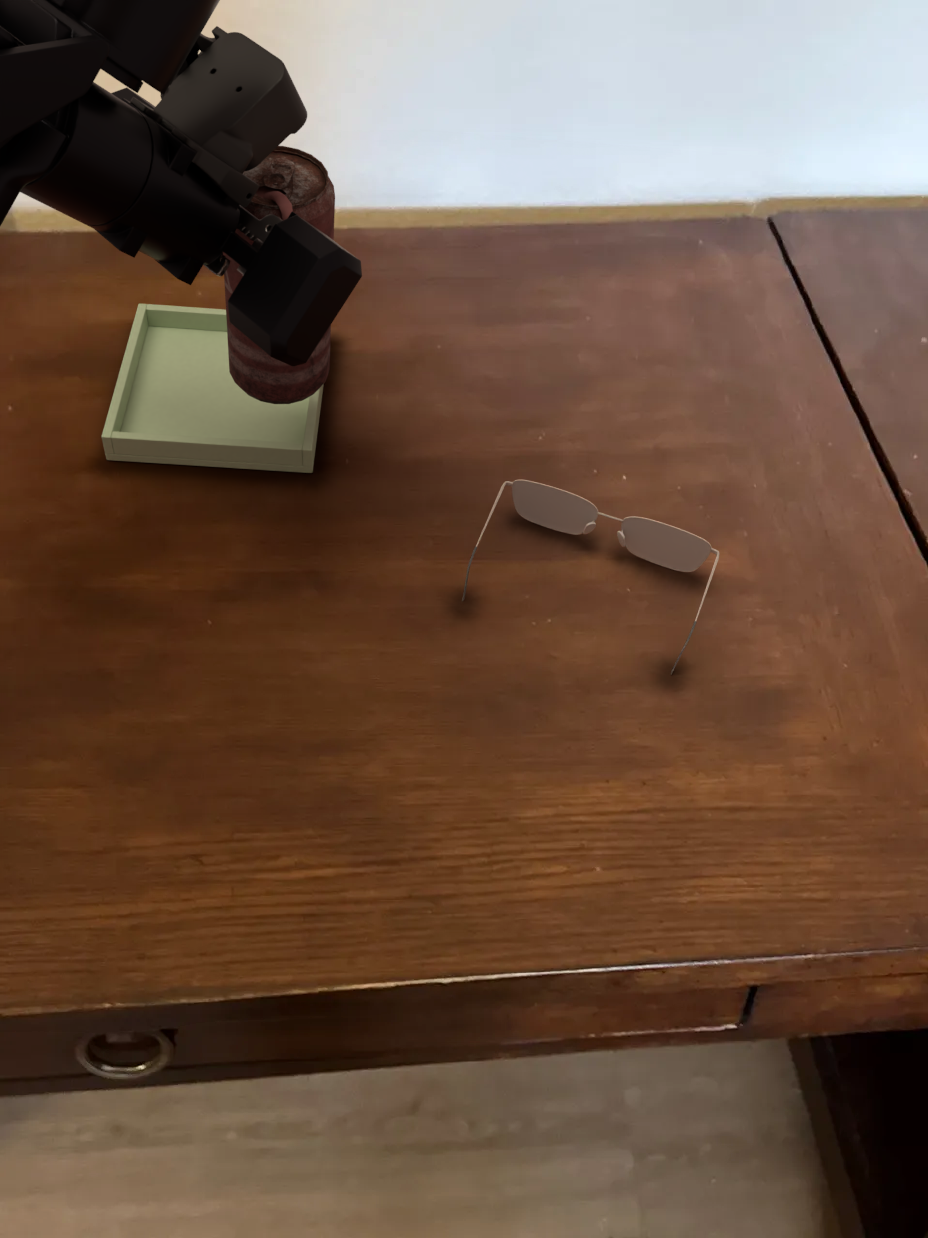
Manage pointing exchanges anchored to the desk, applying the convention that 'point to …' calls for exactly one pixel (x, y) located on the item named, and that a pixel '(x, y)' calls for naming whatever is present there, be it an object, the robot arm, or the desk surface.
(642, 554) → the eyeglasses
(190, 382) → the tray
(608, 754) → the desk surface
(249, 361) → the can
